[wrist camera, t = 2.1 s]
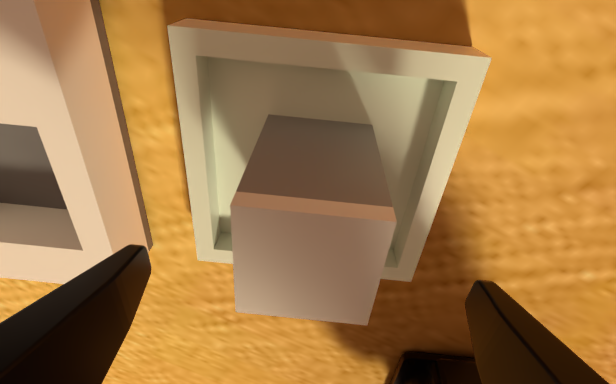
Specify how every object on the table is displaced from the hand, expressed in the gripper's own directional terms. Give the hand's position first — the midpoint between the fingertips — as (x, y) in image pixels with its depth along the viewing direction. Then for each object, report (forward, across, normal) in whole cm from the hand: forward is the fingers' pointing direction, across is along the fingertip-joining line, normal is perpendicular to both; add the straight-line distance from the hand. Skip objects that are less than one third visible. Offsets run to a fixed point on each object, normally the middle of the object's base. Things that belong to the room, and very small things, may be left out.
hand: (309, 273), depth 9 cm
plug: (+6, 0, 0) cm, 6 cm away
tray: (+6, 0, 0) cm, 6 cm away
